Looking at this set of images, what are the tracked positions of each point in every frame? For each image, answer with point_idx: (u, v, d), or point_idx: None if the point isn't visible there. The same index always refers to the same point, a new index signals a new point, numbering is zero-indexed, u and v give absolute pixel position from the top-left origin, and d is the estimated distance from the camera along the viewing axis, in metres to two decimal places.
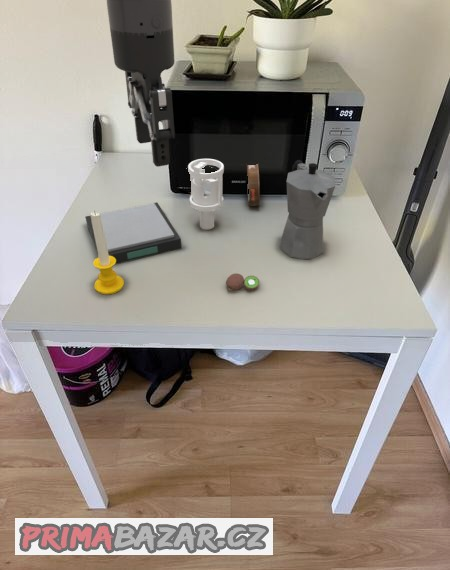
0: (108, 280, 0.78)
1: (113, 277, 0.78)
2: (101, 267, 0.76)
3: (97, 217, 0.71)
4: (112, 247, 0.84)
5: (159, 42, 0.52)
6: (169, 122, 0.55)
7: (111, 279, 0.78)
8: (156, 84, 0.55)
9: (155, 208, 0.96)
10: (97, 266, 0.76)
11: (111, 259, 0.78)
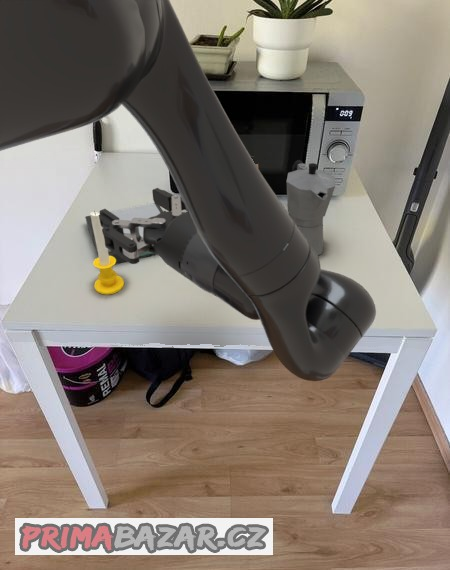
0: (108, 280, 0.78)
1: (113, 277, 0.78)
2: (101, 267, 0.76)
3: (98, 217, 0.71)
4: None
5: (178, 269, 0.51)
6: (115, 247, 0.54)
7: (111, 279, 0.78)
8: (152, 247, 0.53)
9: (155, 208, 0.96)
10: (97, 266, 0.76)
11: (111, 259, 0.78)
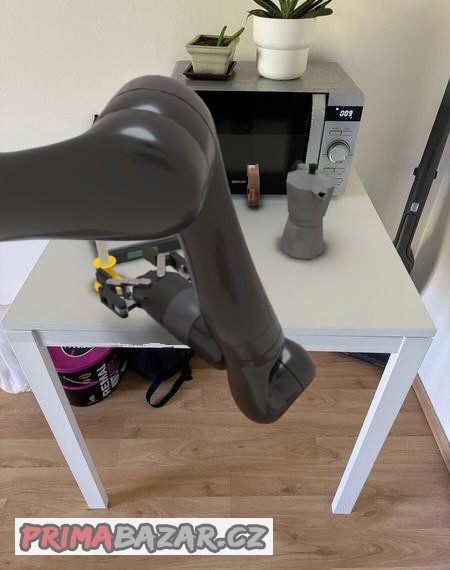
0: None
1: (113, 277, 0.78)
2: (101, 267, 0.76)
3: None
4: (112, 247, 0.84)
5: (160, 324, 0.62)
6: None
7: None
8: (140, 304, 0.64)
9: None
10: (97, 266, 0.76)
11: (111, 259, 0.78)
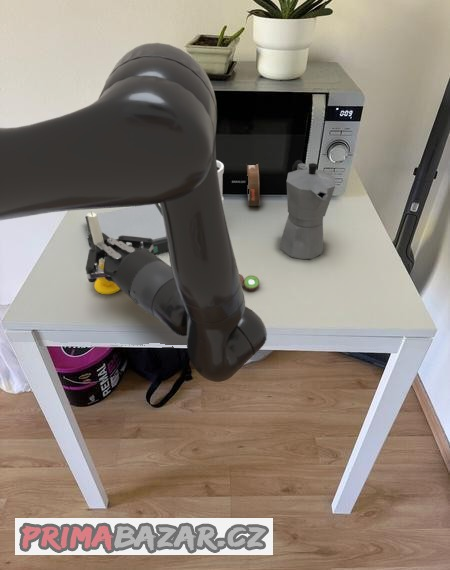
0: (107, 280, 0.78)
1: None
2: (100, 267, 0.76)
3: (94, 218, 0.70)
4: None
5: (129, 295, 0.67)
6: None
7: None
8: (110, 277, 0.69)
9: (155, 208, 0.96)
10: None
11: None
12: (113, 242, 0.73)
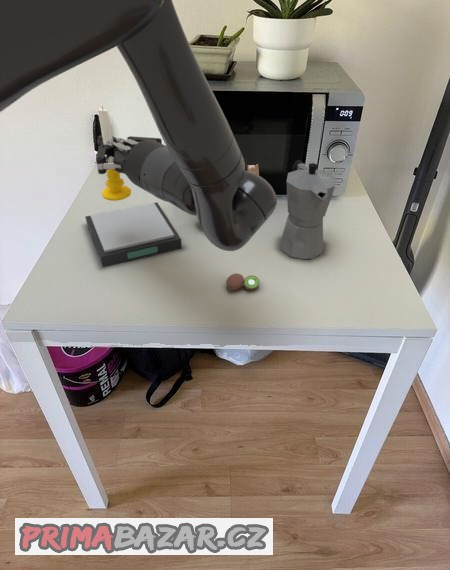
0: (117, 185, 0.78)
1: (121, 182, 0.79)
2: (111, 170, 0.76)
3: (106, 112, 0.71)
4: (112, 247, 0.84)
5: (139, 182, 0.67)
6: None
7: (120, 184, 0.78)
8: (120, 168, 0.69)
9: (155, 208, 0.96)
10: None
11: None
12: (122, 141, 0.74)
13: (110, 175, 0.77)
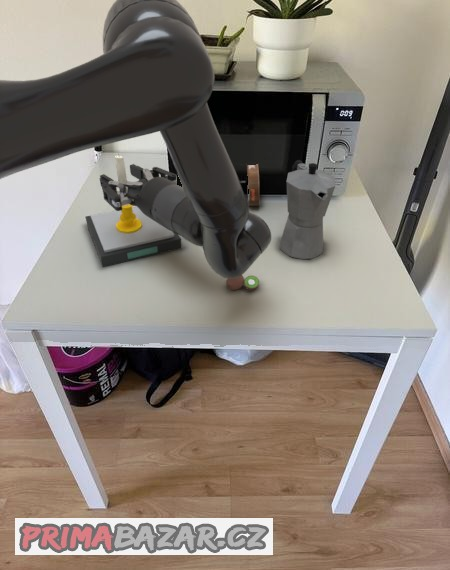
0: (130, 219, 0.88)
1: (134, 217, 0.88)
2: (125, 207, 0.86)
3: (122, 159, 0.81)
4: (112, 247, 0.84)
5: (150, 215, 0.76)
6: None
7: (133, 218, 0.88)
8: (133, 201, 0.78)
9: None
10: None
11: None
12: (148, 171, 0.84)
13: (124, 211, 0.87)
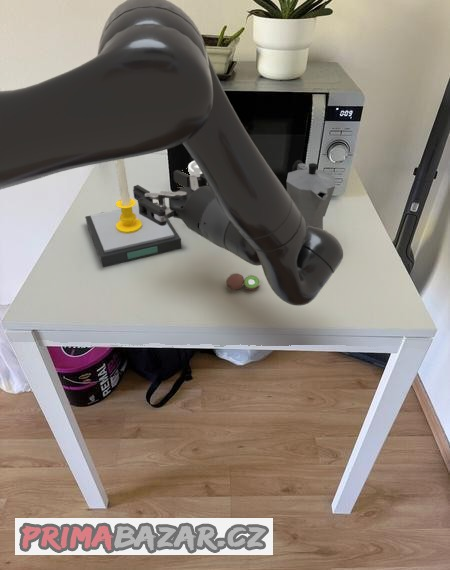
0: (130, 219, 0.88)
1: (134, 217, 0.88)
2: (125, 207, 0.86)
3: (122, 159, 0.81)
4: (112, 247, 0.84)
5: (197, 229, 0.67)
6: None
7: (133, 218, 0.88)
8: (176, 213, 0.69)
9: None
10: (121, 207, 0.86)
11: (130, 201, 0.88)
12: (196, 178, 0.75)
13: (124, 211, 0.87)
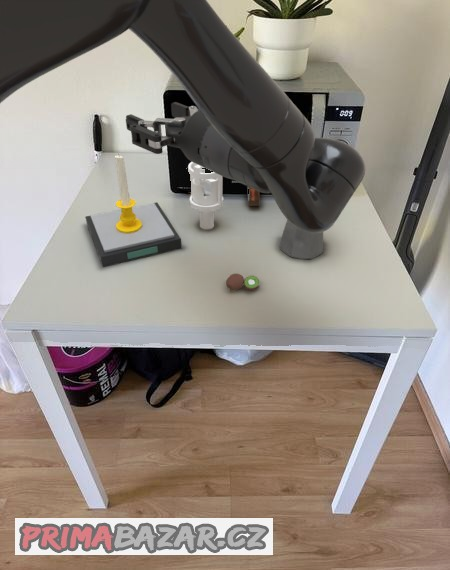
0: (130, 219, 0.88)
1: (134, 217, 0.88)
2: (125, 207, 0.86)
3: (122, 159, 0.81)
4: (112, 247, 0.84)
5: (197, 157, 0.59)
6: (141, 142, 0.62)
7: (133, 218, 0.88)
8: (174, 141, 0.61)
9: (155, 208, 0.96)
10: (121, 207, 0.86)
11: (130, 201, 0.88)
12: (196, 109, 0.68)
13: (124, 211, 0.87)
